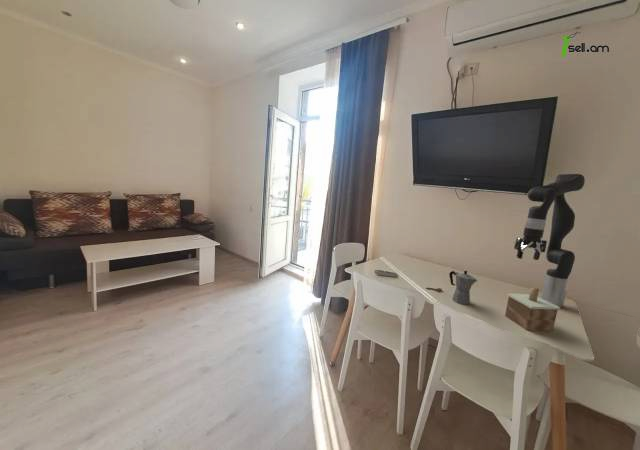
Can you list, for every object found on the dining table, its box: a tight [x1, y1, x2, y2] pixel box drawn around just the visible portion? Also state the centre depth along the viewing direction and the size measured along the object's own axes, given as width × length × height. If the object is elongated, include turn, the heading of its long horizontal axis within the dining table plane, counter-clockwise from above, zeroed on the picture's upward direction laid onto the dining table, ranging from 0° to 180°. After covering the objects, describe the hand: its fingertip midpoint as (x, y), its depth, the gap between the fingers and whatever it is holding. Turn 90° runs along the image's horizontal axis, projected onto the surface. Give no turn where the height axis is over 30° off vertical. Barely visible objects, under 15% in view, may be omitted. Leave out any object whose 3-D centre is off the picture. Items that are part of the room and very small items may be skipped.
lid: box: [506, 287, 561, 311], centre depth 123 cm, size 14×14×7 cm
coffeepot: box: [448, 270, 478, 306], centre depth 145 cm, size 15×9×18 cm, turn 33°
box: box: [504, 296, 559, 332], centre depth 124 cm, size 13×13×11 cm
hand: (527, 259), depth 130 cm, fingers open, 8 cm apart
